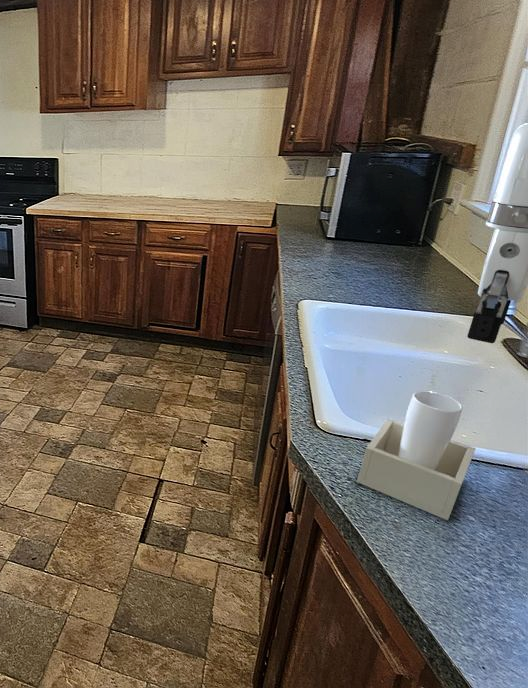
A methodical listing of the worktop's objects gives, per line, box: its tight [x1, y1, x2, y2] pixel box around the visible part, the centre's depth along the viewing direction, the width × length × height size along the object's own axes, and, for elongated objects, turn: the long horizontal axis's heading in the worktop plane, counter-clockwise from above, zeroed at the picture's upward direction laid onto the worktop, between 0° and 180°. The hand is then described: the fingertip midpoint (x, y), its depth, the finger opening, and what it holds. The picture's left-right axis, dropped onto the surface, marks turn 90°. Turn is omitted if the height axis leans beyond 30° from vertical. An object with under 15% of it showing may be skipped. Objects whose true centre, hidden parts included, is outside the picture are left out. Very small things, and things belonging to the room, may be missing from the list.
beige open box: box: [356, 418, 476, 521], centre depth 89 cm, size 13×13×7 cm
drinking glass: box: [398, 390, 463, 471], centre depth 87 cm, size 7×7×15 cm
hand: (485, 330), depth 80 cm, fingers open, 9 cm apart
